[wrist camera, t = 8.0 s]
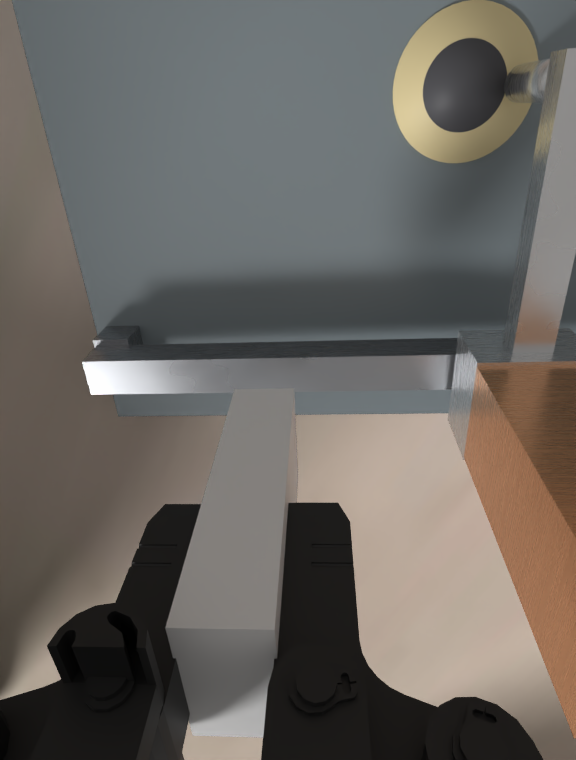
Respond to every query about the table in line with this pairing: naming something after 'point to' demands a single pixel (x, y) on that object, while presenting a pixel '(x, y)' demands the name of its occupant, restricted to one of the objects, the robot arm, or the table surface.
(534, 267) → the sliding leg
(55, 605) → the table surface
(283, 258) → the gauge board
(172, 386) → the rail
